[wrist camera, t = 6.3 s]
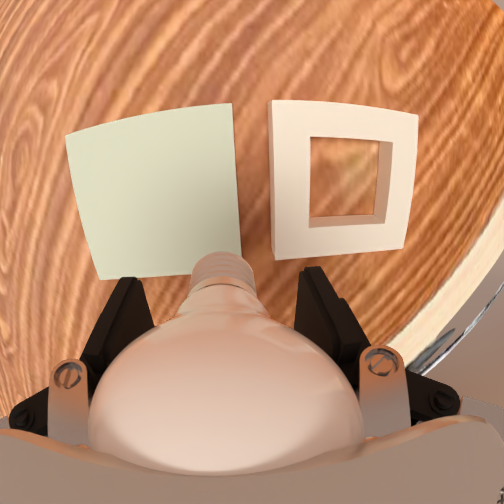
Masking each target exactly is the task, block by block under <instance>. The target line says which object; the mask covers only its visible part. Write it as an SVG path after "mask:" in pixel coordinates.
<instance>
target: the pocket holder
mask: <svg viewBox="0 0 504 504" xmlns="http://www.w3.org/2000/svg"><path fill="white" fill-rule="evenodd" d="M267 110H268V136H269V167H270V206H271V249H272V252H273V255H274V258H275V260H284V259H296V258H307V257H319V256H330V255H340V254H351V253H362V252H372V251H383V250H393V249H403V245H404V241H405V236H406V230H407V225H408V219H409V214H410V207H411V201H412V194H413V186H414V177H415V168H416V156H417V140H418V115H414V114H410V113H405V112H400V111H394V110H389V109H383V108H376V107H370V106H362V105H354V104H345V103H334V102H321V101H301V100H271V101H268V102H267ZM310 137H336V138H353V139H367V140H378V141H379V159H378V173H377V185H376V196H375V205H374V213H373V214H371V215H346V216H325V217H309V200H310Z"/></svg>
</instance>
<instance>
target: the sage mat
mask: <svg viewBox="0 0 504 504" xmlns="http://www.w3.org/2000/svg"><path fill="white" fill-rule="evenodd" d="M65 139H66V147H67V154H68V161H69V167H70V172H71V178H72V183H73V188H74V192H75V197H76V201H77V206H78V210H79V214H80V218H81V222H82V225H83V229H84V233H85V236H86V240H87V243H88V246H89V249H90V253H91V256H92V259H93V262H94V265H95V268H96V271H97V274H98V276H99V279H100V280H109V279H120V278H121V277H136V278H142V277H157V276H172V275H186V274H192V270H193V268H194V266H195V264H196V263H197V262H198V261H199V260H200V259H201V258H203V257H204V256H206V255H208V254H210V253H214V252H231V253H234V254H237V255H239V256H241V257H242V255H241V241H240V226H239V212H238V197H237V181H236V165H235V149H234V132H233V114H232V103H225V104H213V105H203V106H194V107H186V108H179V109H172V110H166V111H160V112H154V113H149V114H144V115H139V116H134V117H129V118H125V119H120V120H116V121H112V122H108V123H104V124H101V125H97V126H93V127H90V128H86V129H83V130H80V131H77V132H74V133H70V134H67V135H65Z"/></svg>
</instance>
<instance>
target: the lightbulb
mask: <svg viewBox="0 0 504 504" xmlns="http://www.w3.org/2000/svg"><path fill="white" fill-rule="evenodd" d="M87 434H88V445H89V450H93V451H97V452H102V453H106V454H111V455H113V456H115V457H118V458H120V459H122V460H125V461H127V462H130V463H133V464H136V465H139V466H143V467H146V468H150V469H154V470H159V471H164V472H170V473H176V474H185V475H199V476H226V475H240V474H249V473H256V472H262V471H267V470H272V469H276V468H281V467H284V466H288V465H292V464H295V463H298V462H301V461H304V460H307V459H310V458H312V457H315V456H317V455H320V454H322V453H324V452H328V451H332V450H337V449H341V448H345V447H348V446H352V445H356V444H359V443H363V442H364V422H363V416H362V411H361V407H360V404H359V401H358V399H357V396H356V394H355V392H354V390H353V388H352V386H351V384H350V382H349V381H348V379H347V377H346V376H345V374H344V373H343V371H342V370H341V369H340V368H339V366H338V365H337V364H336V363H335V362H334V360H333V359H332V358H331V357H330V356H329V355H328V354H327V353H326V352H325V351H324V350H322V349H321V348H320V347H319V346H318V345H316V344H315V343H314V342H312V341H311V340H310V339H308V338H307V337H305V336H304V335H302V334H301V333H299V332H297V331H295V330H294V329H292V328H290V327H288V326H286V325H284V324H282V323H280V322H278V321H275V320H273V319H272V318H271V316H270V314H269V312H268V311H267V309H266V308H265V306H264V305H263V304H262V303H261V301H260V300H259V299H258V298H257V292H256V286H255V280H254V274H253V270H252V268H251V266H250V265H249V263H248V262H247V261H246V260H245V259H243V258H242V257H241V256H239V255H237V254H234V253H231V252H214V253H210V254H208V255H206V256H204V257H203V258H201V259H200V260H199V261H198V262H197V263H196V264H195V266H194V268H193V270H192V275H191V279H190V284H189V290H188V295H187V299H186V300H185V301H184V302H183V303H182V304H181V305H180V307H179V308H178V310H177V311H176V313H175V315H174V317H173V318H172V319H170V320H168V321H165V322H163V323H161V324H159V325H157V326H155V327H153V328H152V329H150V330H148V331H146V332H145V333H143V334H142V335H140V336H139V337H137V338H136V339H135V340H133V341H132V342H131V343H130V344H128V345H127V346H126V347H125V348H124V349H123V350H122V351H121V352H120V353H119V354H118V355H117V356H116V357H115V358H114V359H113V361H112V362H111V363H110V364H109V366H108V367H107V369H106V370H105V372H104V373H103V375H102V377H101V379H100V381H99V383H98V385H97V387H96V389H95V392H94V394H93V397H92V401H91V404H90V409H89V415H88V430H87Z"/></svg>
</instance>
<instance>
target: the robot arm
mask: <svg viewBox="0 0 504 504" xmlns="http://www.w3.org/2000/svg"><path fill="white" fill-rule="evenodd" d="M153 327H155V326H154V323H153V320H152V317H151V313H150V310H149V307H148V303H147V300H146V296H145V292H144V289H143V285H142V282H141V281H140V280H137V278H136V277H121V278H120V280H119V281H118V283H117V285H116V287H115V289H114V291H113V292H112V294H111V296H110V298H109V300H108V302H107V304H106V306H105V308H104V310H103V312H102V313H101V314H100V316H99V318H98V321H97V323H96V325H95V327H94V329H93V331H92V333H91V335H90V337H89V339H88V341H87V344H86V346H85V348H84V350H83V353H82V355H81V357H80V359H79V360H78V359H67V360H64V361H62V362H60V363H58V364H57V365H56V366H55V367H54V369H53V370H52V372H51V375H50V381H49V387H47V388H45V389H43V390H42V391H40V392H38V393H36V394H35V395H33V396H31V397H29V398H28V399H26V400H24V401H22V402H21V403H19V404H17V405H16V406H15V407H14V408H13V409H12V411H11V413H10V416H9V418H8V417H7V416H5V417H3V418H1V419H0V504H504V409H502V407H500V406H497V405H494V404H490V403H486V402H483V401H479V400H475V399H473V398H469V397H466V396H463V397H462V398H459V396H458V394H457V392H456V391H455V390H454V389H453V388H452V387H450V386H448V385H446V384H443V383H440V382H437V381H435V380H432V379H429V378H427V377H424V376H422V375H419V374H416V373H414V372H411V371H409V370H406V369H405V367H404V362H403V359H402V357H401V355H400V354H399V353H398V352H397V351H396V350H394V349H393V348H390V347H388V346H384V345H373V346H371V344H370V343H369V341H368V339H367V337H366V335H365V333H364V332H363V330H362V328H361V326H360V325H359V323H358V321H357V319H356V318H355V316H354V314H353V312H352V311H351V309H350V307H349V305H348V304H347V302H346V301H345V299H343V298H338V296H337V294H336V292H335V291H334V289H333V287H332V285H331V284H330V282H329V280H328V278H327V277H326V275H325V273H324V272H323V270H322V268H321V267H320V266H315V267H305V269H304V271H300V273H299V283H298V293H297V304H296V313H295V323H294V330H295V331H297V332H299V333H301V334H302V335H304V336H305V337H307V338H308V339H310V340H311V341H312V342H314V343H315V344H316V345H318V346H319V347H320V348H321V349H322V350H324V351H325V352H326V353H327V354H328V355H329V356H330V357H331V358H332V359H333V360H334V362H335V363H336V364H337V365H338V366H339V368H340V369H341V370H342V371H343V373H344V374H345V376H346V377H347V379H348V381H349V382H350V384H351V386H352V388H353V390H354V392H355V394H356V396H357V399H358V401H359V404H360V407H361V411H362V416H363V422H364V442H363V443H359V444H356V445H352V446H348V447H345V448H341V449H337V450H332V451H328V452H324V453H322V454H320V455H317V456H315V457H312V458H310V459H307V460H304V461H301V462H298V463H295V464H292V465H288V466H284V467H281V468H276V469H272V470H267V471H262V472H256V473H249V474H240V475H226V476H199V475H185V474H176V473H170V472H164V471H159V470H154V469H150V468H146V467H143V466H139V465H136V464H133V463H130V462H127V461H125V460H122V459H120V458H118V457H115V456H113V455H111V454H106V453H102V452H97V451H93V450H89V445H88V434H87V430H88V415H89V409H90V404H91V401H92V397H93V394H94V392H95V389H96V387H97V385H98V383H99V381H100V379H101V377H102V375H103V373H104V372H105V370H106V369H107V367H108V366H109V364H110V363H111V362H112V361H113V359H114V358H115V357H116V356H117V355H118V354H119V353H120V352H121V351H122V350H123V349H124V348H125V347H126V346H127V345H128V344H130V343H131V342H132V341H133V340H135V339H136V338H137V337H139V336H140V335H142V334H143V333H145V332H146V331H148V330H150V329H152V328H153Z"/></svg>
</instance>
